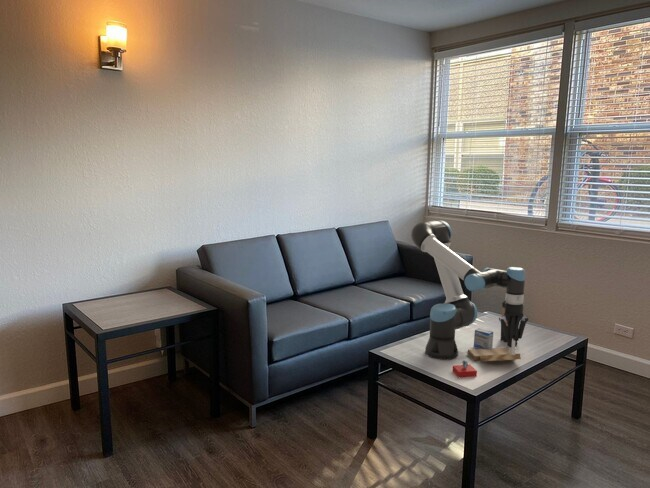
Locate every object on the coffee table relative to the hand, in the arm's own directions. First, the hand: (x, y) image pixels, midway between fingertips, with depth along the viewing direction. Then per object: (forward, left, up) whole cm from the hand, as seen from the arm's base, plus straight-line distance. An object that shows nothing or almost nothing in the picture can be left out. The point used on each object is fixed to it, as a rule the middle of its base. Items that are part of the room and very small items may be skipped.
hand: (511, 353), depth 228 cm
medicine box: (-3, +22, -6) cm, 23 cm away
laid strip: (-4, +11, -6) cm, 13 cm away
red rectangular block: (-24, -6, -6) cm, 25 cm away
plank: (-4, +2, -4) cm, 6 cm away
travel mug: (+14, +30, -6) cm, 34 cm away
